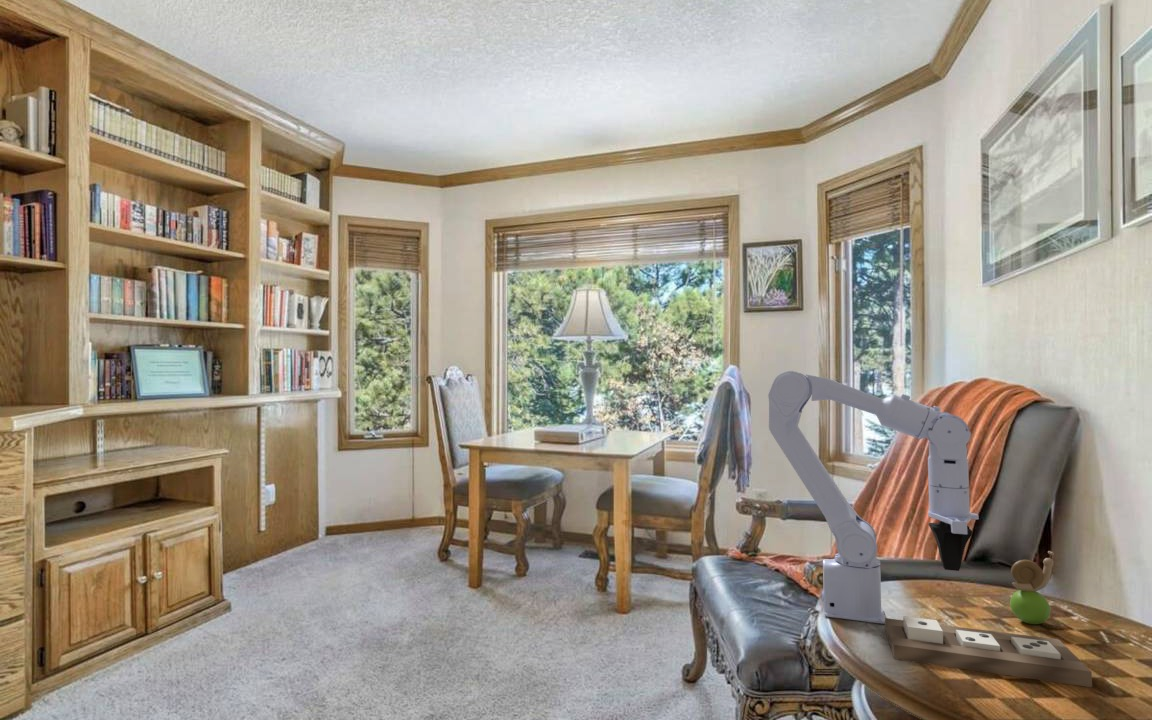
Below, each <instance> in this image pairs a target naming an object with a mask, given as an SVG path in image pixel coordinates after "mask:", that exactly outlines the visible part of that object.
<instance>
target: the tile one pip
mask: <svg viewBox="0 0 1152 720" xmlns="http://www.w3.org/2000/svg"><path fill="white" fill-rule="evenodd" d="M902 618H903V619H902V620H904V634H905V637H906V639H911V640H918V641H926V642H933V643H941V644H943V631H942V629H941V627H940V625H941V624H940V623H939V621H938V620H936V619H928V618H922V617H914V616H903V617H902Z"/></svg>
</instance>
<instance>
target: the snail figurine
mask: <svg viewBox="0 0 1152 720" xmlns="http://www.w3.org/2000/svg"><path fill="white" fill-rule="evenodd" d="M1047 553H1048V555H1049V557H1045V558H1044V559H1043V561H1042V563H1043V569H1042V568H1041V566H1039V564H1037V563H1036V562H1034V561H1032V560H1030V559H1020V560H1017V561H1016V562H1014V563H1013V564H1012V566H1011V567H1010V574H1011V577H1012V578H1013V580H1014V581H1015V582H1014V581H1013V582H1012V583H1011V584H1012V586H1013V587H1014V588H1016V591H1015V592H1013V593H1012V594H1011V596H1010V599H1009V607H1010V609H1011V611H1012V614H1013V615H1014V616H1015V617H1016V618H1017V619H1018V620H1020V621H1022V622H1024V623H1025V624H1030V625H1040V624H1043V623H1045V622H1046V621H1048V619H1049V617H1050V616H1051V606H1050V603H1049V602H1048V599H1046V597H1045V596H1043V594H1041V593H1040V592H1038V591H1040V590H1043V589H1045V587H1047V586H1048V584H1049V582H1050V579H1051V576H1052V571H1053V567H1054V555H1055V553H1054V552H1053V551H1051V550H1048V551H1047ZM1051 556H1052V557H1051Z"/></svg>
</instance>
